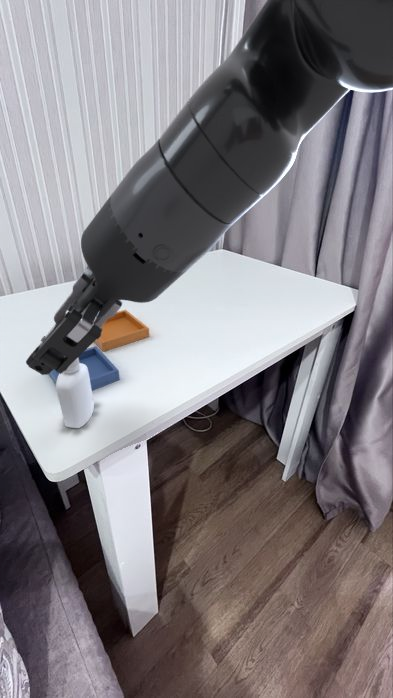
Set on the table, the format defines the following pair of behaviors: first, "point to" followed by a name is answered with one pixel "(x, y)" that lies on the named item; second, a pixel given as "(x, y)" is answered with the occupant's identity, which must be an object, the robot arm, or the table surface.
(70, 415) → the eye dropper bottle
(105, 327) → the amber tray
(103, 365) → the blue tray
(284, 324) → the table surface
